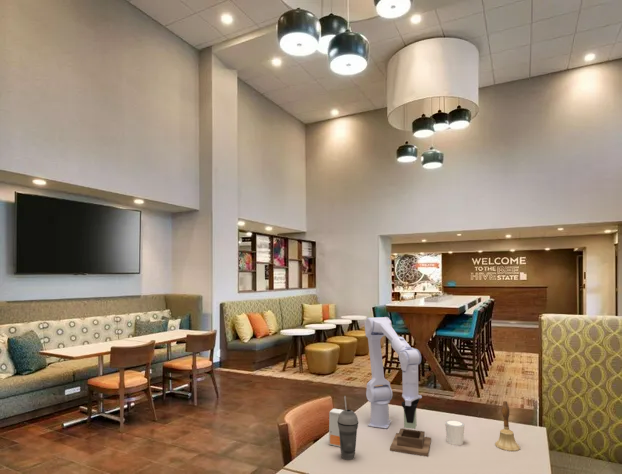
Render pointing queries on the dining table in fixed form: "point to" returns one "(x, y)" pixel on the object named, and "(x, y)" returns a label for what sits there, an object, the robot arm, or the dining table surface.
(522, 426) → the dining table surface
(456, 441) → the white ribbed cylinder
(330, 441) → the skincare box
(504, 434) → the hand bell
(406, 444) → the well stand
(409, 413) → the robot arm
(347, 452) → the beverage cup
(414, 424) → the block
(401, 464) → the dining table surface
